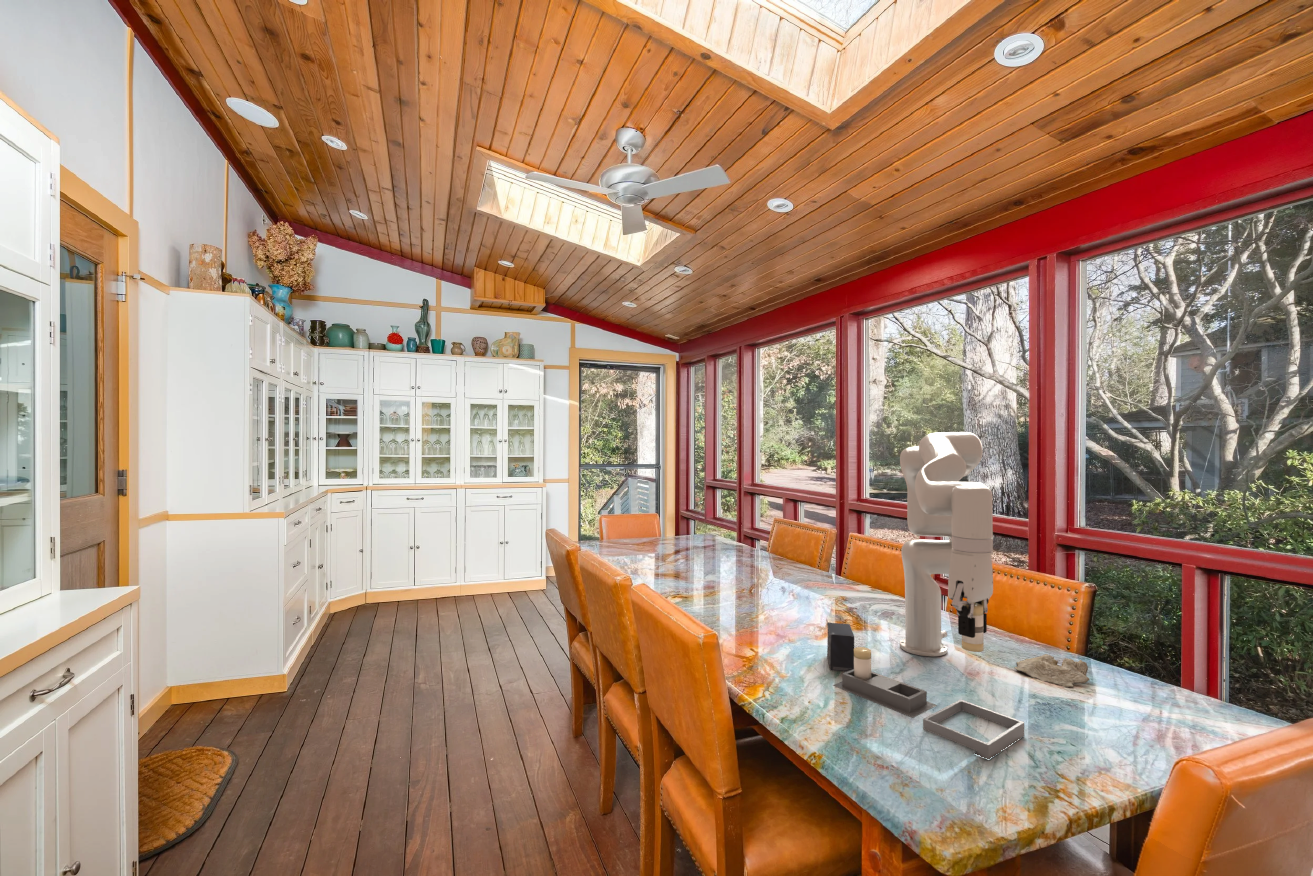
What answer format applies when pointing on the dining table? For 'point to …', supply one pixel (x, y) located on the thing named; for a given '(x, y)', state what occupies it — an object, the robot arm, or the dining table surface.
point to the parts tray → (981, 747)
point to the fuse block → (887, 693)
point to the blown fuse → (978, 641)
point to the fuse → (862, 663)
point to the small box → (840, 647)
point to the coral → (1054, 670)
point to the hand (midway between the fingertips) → (972, 632)
